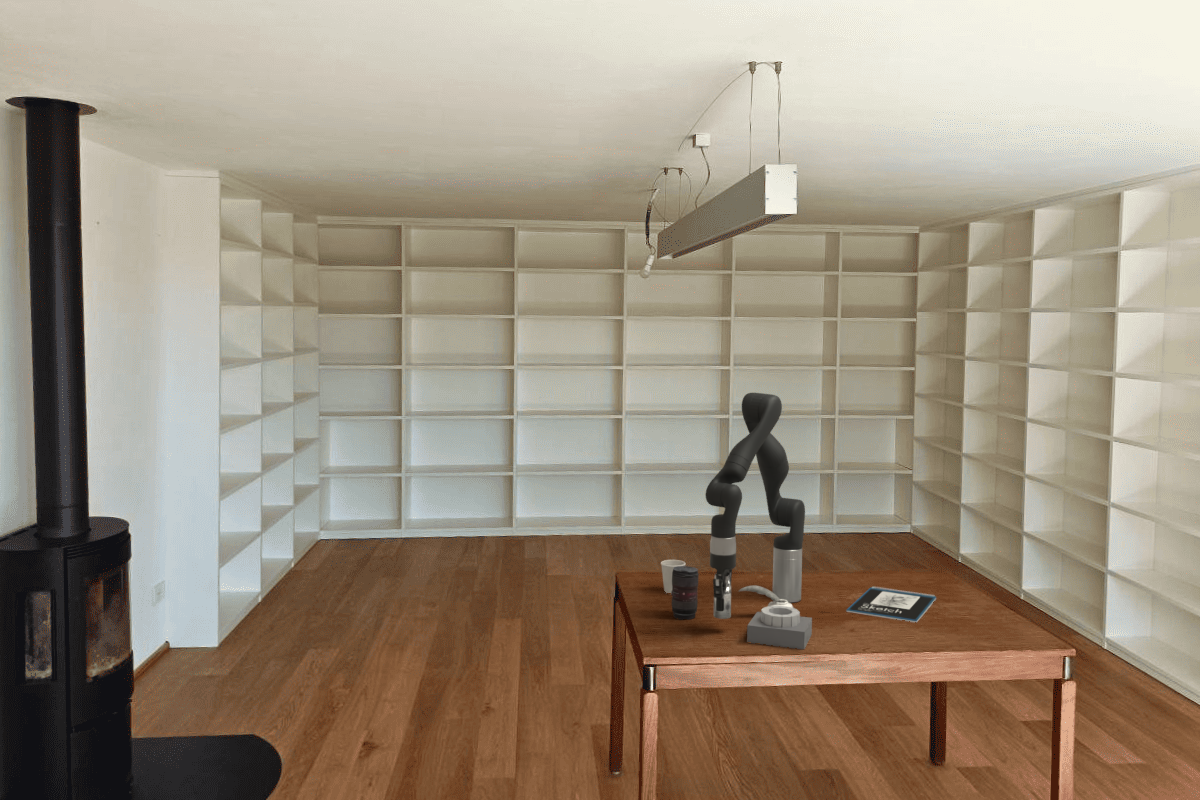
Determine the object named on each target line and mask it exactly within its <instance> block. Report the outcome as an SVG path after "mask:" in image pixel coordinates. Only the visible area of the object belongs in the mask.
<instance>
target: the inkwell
mask: <svg viewBox="0 0 1200 800" xmlns="http://www.w3.org/2000/svg"><path fill="white" fill-rule="evenodd" d="M738 592H752V593H756V594H759V595H765V596H766V597H767V598H770V600H772V601H770V602H768V605H767V607H768V606H786V607H791V608H794V606H793V604H792V602H788V601H787V600H784V599H779V598H778V597H777V596H776V595H775V594H774V593H773V591H771V590H769V589H768V588H766V587H763V586H760V585H755V584H754V585H747V586H745V587H744V586H743V587H742V588H740V589H739V590H738Z"/></svg>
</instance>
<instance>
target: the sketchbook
mask: <svg viewBox="0 0 1200 800" xmlns="http://www.w3.org/2000/svg"><path fill="white" fill-rule="evenodd" d="M936 600H937V595H936V596H935V594H930V593H928V594H927V593H922V592H920V593H919V592H914V591H909V590H907V591H906V590H900V589H899V590H898V589H893V588H887V587H880V586H875V585H874V586H872V587H870V588H868V589H867V590H866V591H865V592H864V593H862V595H861V596H860V597H858V598H857V599H856V600H855V601H854V602H853V603H852V604H851V605H850V606H849V607H848V608H846V609H845V611H846V612H847V613H851V614H852V613H854V614H859V615H866V616H871V617H878V618H883V619H884V618H885V619H891V620H896V619H897V621H902V620H905V621H904V622H909V621H910V622H909V623H915V622H916V624H917V623H918V621H919V620H920V619H922V617H923V616H924V615H925V613H926V612H927V611H928V610H929V609H930V607H932V605H933V604H934V603H935V602H936ZM934 601H935V602H934ZM933 602H934V603H933Z"/></svg>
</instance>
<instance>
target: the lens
mask: <svg viewBox="0 0 1200 800" xmlns="http://www.w3.org/2000/svg"><path fill="white" fill-rule="evenodd" d="M718 594H720V591H718ZM731 617H732V584H731V585H727V590H726V591H725V598H724V610H723V611H717V610H716V598H714V597H713V618H716V619H720V620H722V619H723V620H725V619H730V618H731Z"/></svg>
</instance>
